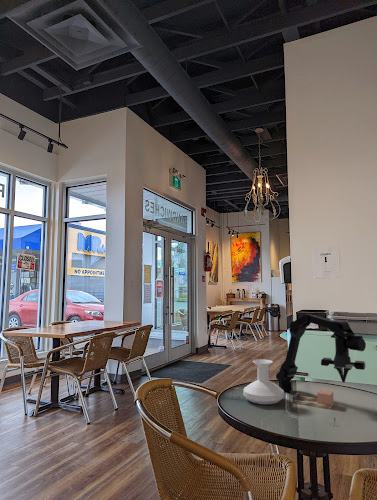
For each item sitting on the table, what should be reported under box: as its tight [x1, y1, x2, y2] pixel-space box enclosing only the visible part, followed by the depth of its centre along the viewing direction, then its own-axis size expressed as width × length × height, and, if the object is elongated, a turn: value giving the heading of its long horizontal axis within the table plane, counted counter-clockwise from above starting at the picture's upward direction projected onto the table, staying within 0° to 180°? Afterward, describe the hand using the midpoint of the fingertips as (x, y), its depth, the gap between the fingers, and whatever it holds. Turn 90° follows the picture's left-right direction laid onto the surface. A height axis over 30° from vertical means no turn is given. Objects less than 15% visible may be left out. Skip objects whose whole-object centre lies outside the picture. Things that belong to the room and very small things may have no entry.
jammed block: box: [316, 389, 335, 409], centre depth 174 cm, size 6×6×6 cm
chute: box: [291, 391, 332, 410], centre depth 177 cm, size 18×9×3 cm, turn 57°
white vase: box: [242, 358, 285, 405], centre depth 183 cm, size 20×20×19 cm
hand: (343, 382), depth 170 cm, fingers closed
